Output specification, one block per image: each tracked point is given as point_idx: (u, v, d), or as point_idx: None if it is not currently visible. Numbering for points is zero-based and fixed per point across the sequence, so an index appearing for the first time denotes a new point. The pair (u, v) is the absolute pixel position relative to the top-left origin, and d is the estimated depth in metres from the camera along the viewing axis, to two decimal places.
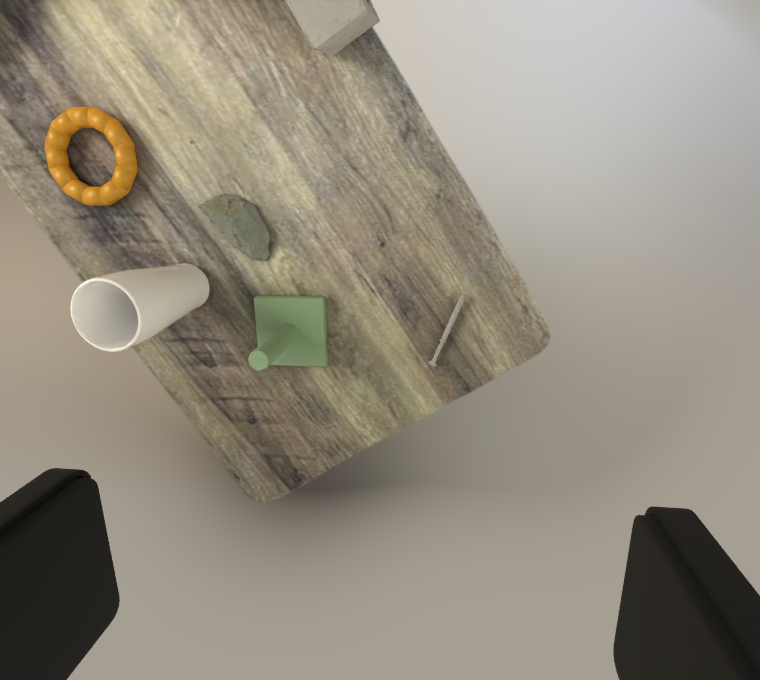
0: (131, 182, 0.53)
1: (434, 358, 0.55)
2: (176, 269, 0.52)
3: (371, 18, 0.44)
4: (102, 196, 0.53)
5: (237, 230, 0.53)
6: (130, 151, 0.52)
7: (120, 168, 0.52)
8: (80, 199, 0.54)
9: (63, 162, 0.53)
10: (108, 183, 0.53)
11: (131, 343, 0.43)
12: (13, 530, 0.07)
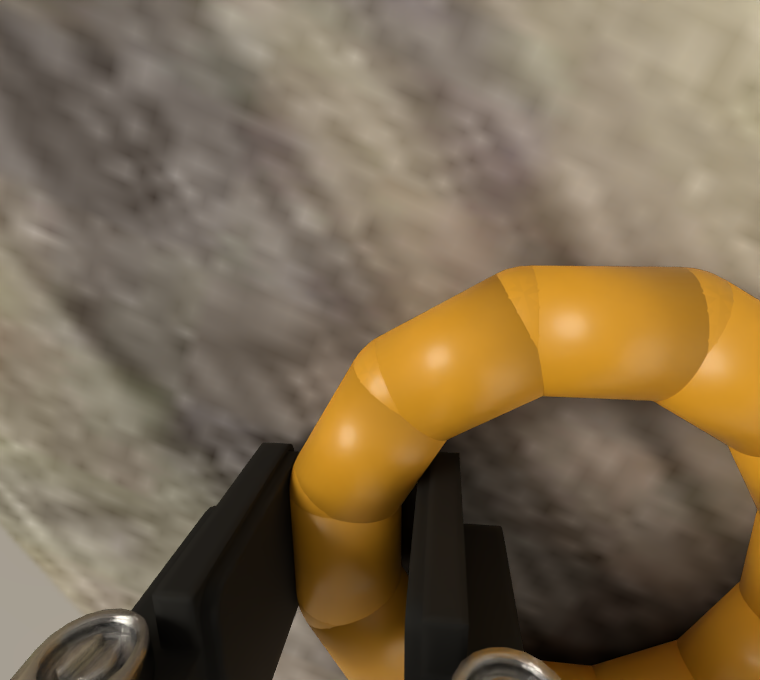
0: None
1: None
2: None
3: None
4: None
5: None
6: None
7: None
8: None
9: (393, 573, 0.09)
10: None
11: None
12: (268, 493, 0.08)
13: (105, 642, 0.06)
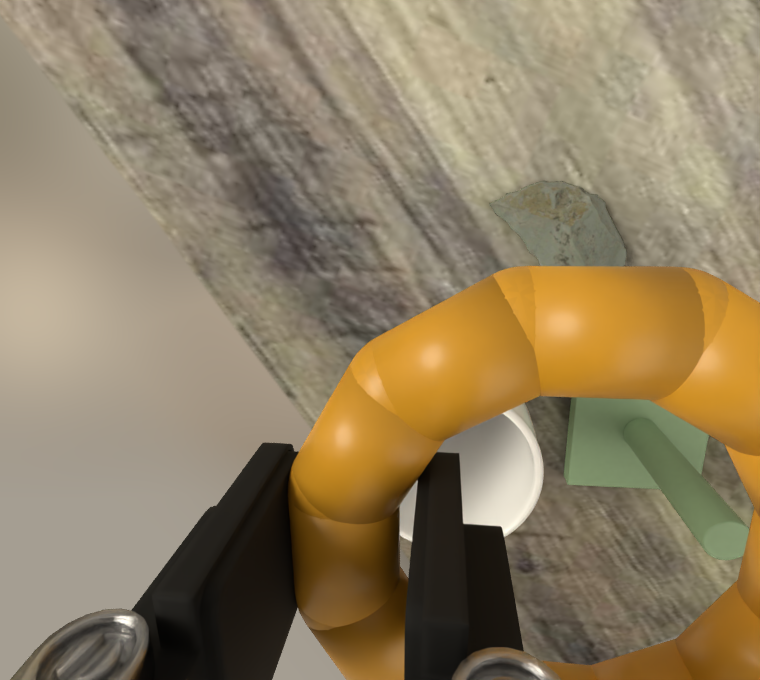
0: None
1: None
2: None
3: None
4: None
5: (576, 249, 0.27)
6: None
7: None
8: None
9: (391, 574, 0.09)
10: None
11: (504, 536, 0.18)
12: (267, 493, 0.08)
13: (105, 642, 0.06)
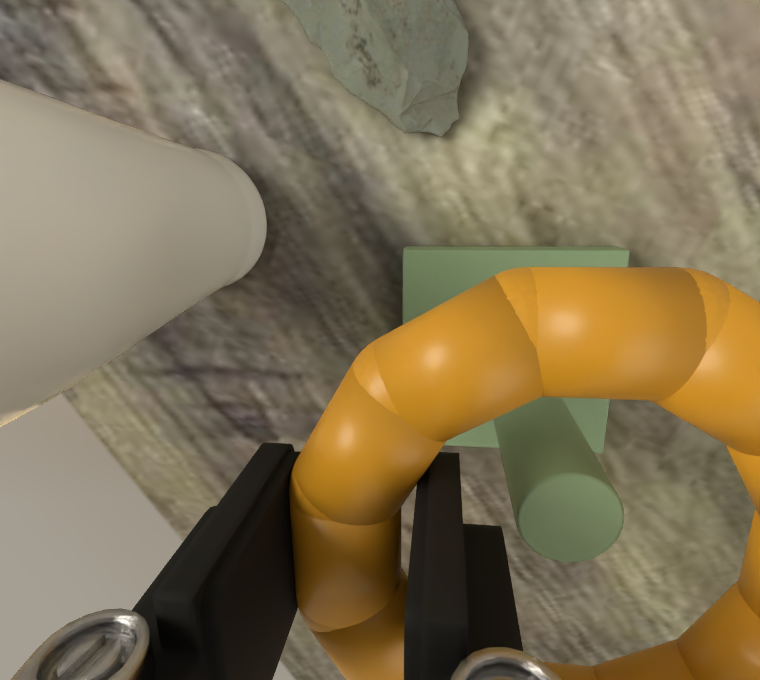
0: None
1: None
2: (168, 140, 0.15)
3: None
4: None
5: (373, 17, 0.16)
6: None
7: None
8: None
9: (393, 576, 0.09)
10: None
11: None
12: (268, 493, 0.08)
13: (105, 642, 0.06)
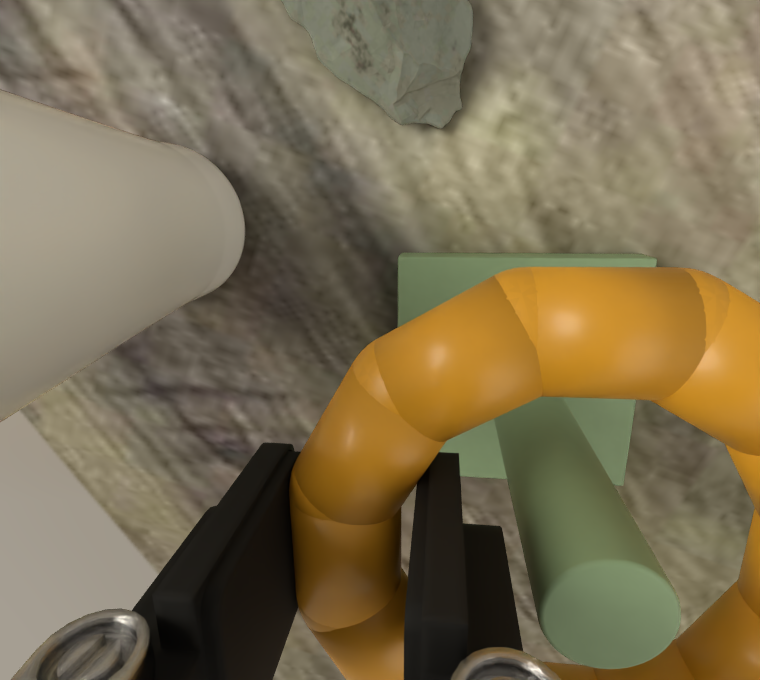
0: None
1: None
2: (121, 131, 0.12)
3: None
4: None
5: None
6: None
7: None
8: None
9: (393, 575, 0.09)
10: None
11: None
12: (268, 493, 0.08)
13: (105, 642, 0.06)
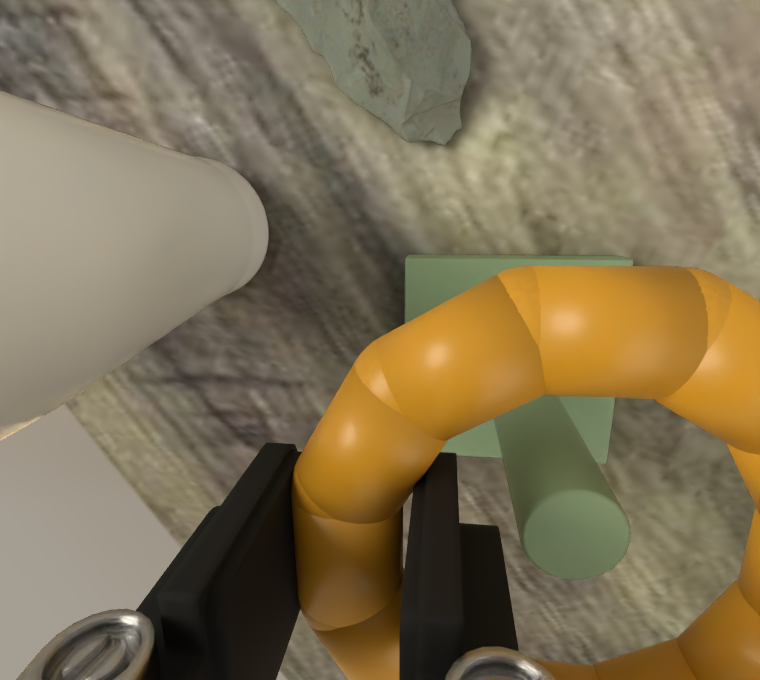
0: None
1: None
2: (170, 150, 0.15)
3: None
4: None
5: (376, 27, 0.16)
6: None
7: None
8: None
9: (395, 574, 0.09)
10: None
11: None
12: (271, 493, 0.08)
13: (110, 642, 0.06)
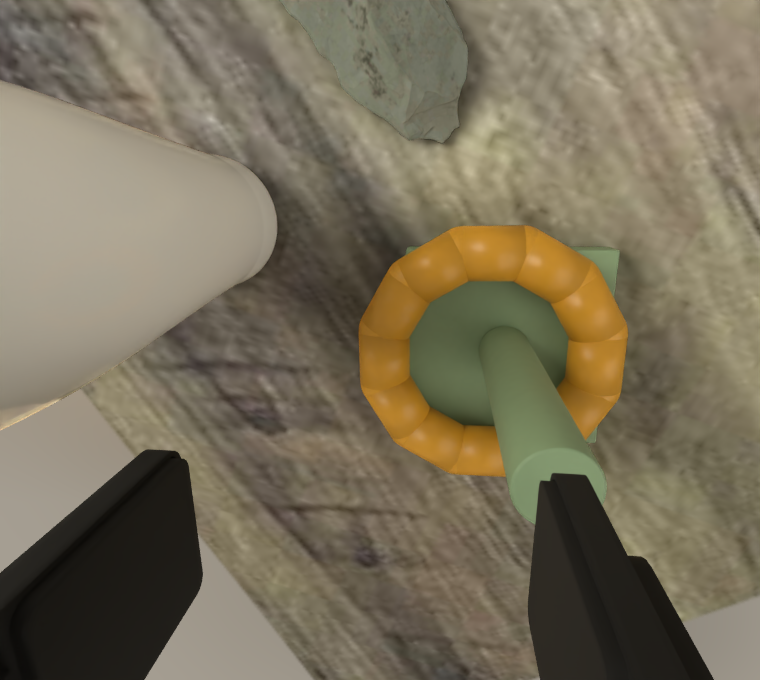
0: None
1: None
2: (188, 147, 0.16)
3: None
4: None
5: (379, 33, 0.17)
6: None
7: (594, 399, 0.18)
8: (447, 467, 0.20)
9: (406, 370, 0.19)
10: None
11: None
12: (129, 503, 0.08)
13: None
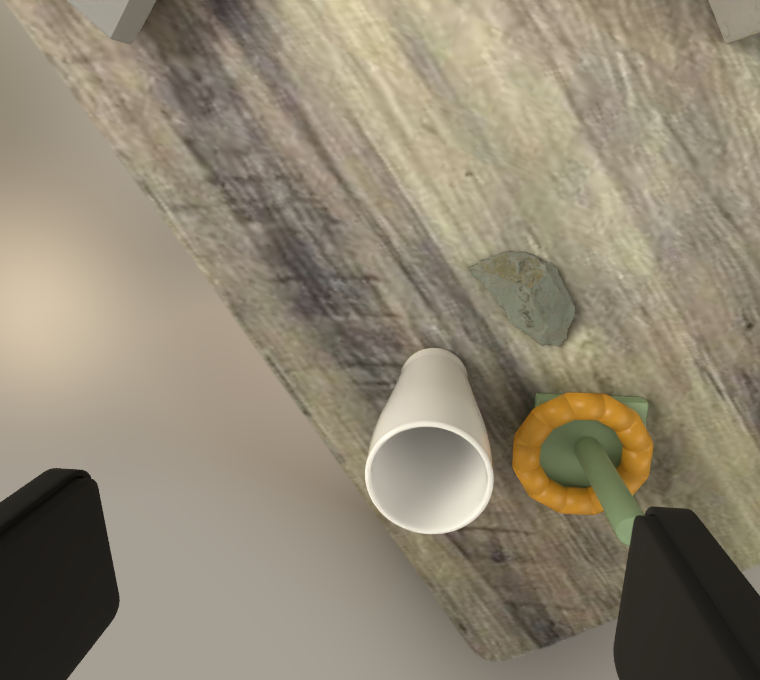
0: None
1: None
2: (451, 367, 0.34)
3: None
4: (596, 509, 0.37)
5: (535, 306, 0.35)
6: None
7: (636, 478, 0.36)
8: (558, 510, 0.38)
9: (538, 461, 0.38)
10: None
11: (467, 524, 0.26)
12: (13, 530, 0.07)
13: None
